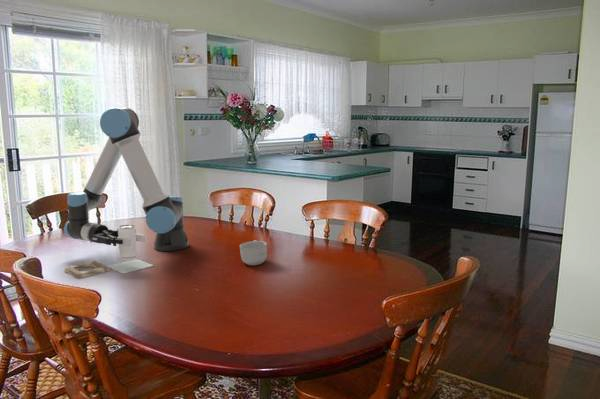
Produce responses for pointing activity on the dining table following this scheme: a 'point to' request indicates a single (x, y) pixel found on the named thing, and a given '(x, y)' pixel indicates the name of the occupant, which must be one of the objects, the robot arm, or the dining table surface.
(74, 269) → the holder
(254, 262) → the teacup
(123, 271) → the mat
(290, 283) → the dining table surface
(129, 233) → the can
